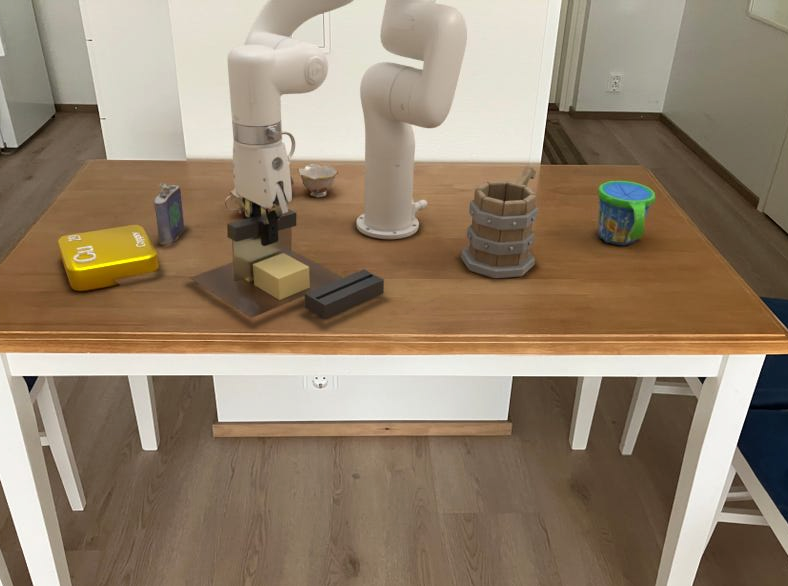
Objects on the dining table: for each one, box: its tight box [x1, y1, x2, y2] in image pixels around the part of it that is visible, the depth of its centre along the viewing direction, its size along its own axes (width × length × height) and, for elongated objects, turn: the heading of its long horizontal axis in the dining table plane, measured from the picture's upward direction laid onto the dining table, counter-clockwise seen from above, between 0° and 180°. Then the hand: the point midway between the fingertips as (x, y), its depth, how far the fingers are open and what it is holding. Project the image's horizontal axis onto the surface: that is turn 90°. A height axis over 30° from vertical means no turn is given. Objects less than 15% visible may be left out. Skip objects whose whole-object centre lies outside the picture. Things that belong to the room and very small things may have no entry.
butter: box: [253, 253, 310, 300], centre depth 131 cm, size 6×7×4 cm
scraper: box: [226, 208, 297, 281], centre depth 131 cm, size 12×2×10 cm, turn 134°
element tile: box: [57, 224, 160, 292], centre depth 138 cm, size 15×15×5 cm
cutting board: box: [189, 249, 344, 319], centre depth 135 cm, size 20×18×2 cm
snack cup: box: [597, 180, 656, 246], centre depth 152 cm, size 16×11×10 cm
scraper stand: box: [304, 268, 385, 320], centre depth 128 cm, size 13×5×4 cm, turn 134°
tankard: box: [460, 165, 539, 279], centre depth 143 cm, size 20×13×15 cm, turn 147°
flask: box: [153, 183, 186, 247], centre depth 147 cm, size 9×3×11 cm, turn 172°
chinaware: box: [224, 130, 339, 218], centre depth 163 cm, size 28×17×17 cm, turn 139°
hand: (264, 239), depth 130 cm, fingers closed on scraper, 2 cm apart
